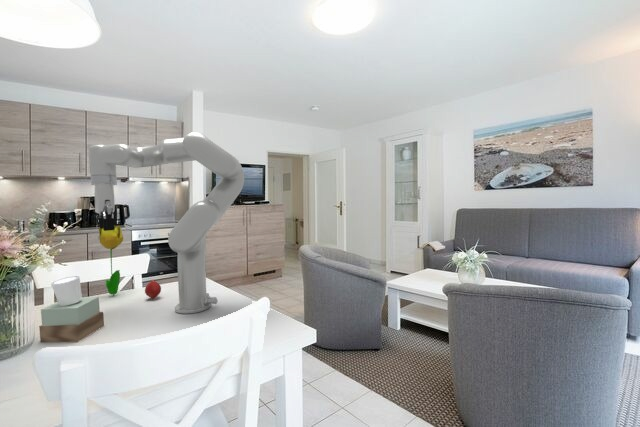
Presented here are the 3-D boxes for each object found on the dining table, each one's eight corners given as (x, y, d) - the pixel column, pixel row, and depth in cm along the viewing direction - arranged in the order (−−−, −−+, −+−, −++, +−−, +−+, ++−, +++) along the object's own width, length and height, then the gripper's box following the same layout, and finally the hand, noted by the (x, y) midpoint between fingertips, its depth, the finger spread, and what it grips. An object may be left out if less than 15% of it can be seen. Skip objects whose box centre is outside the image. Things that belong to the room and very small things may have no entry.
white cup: (53, 304, 96) (47, 282, 95) (79, 295, 101) (74, 274, 100) (60, 308, 92) (55, 286, 91) (88, 299, 97) (83, 277, 96)
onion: (143, 298, 130) (142, 279, 129) (159, 295, 133) (158, 276, 133) (147, 302, 125) (146, 282, 125) (163, 298, 129) (162, 279, 129)
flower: (96, 298, 131) (92, 226, 129) (113, 292, 139) (109, 224, 137) (114, 299, 129) (109, 226, 127) (130, 293, 137) (126, 224, 135)
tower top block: (99, 312, 102) (98, 296, 102) (78, 324, 93) (77, 308, 92) (67, 313, 102) (66, 298, 102) (42, 326, 92) (40, 309, 92)
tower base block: (104, 326, 103) (103, 311, 103) (77, 342, 92) (76, 325, 92) (70, 327, 103) (69, 312, 103) (40, 343, 92) (39, 326, 92)
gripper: (88, 181, 116) (91, 228, 117) (94, 179, 103) (97, 232, 104) (112, 182, 120) (115, 226, 122) (121, 180, 107) (123, 230, 109)
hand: (107, 229), depth 113 cm, fingers open, 9 cm apart
